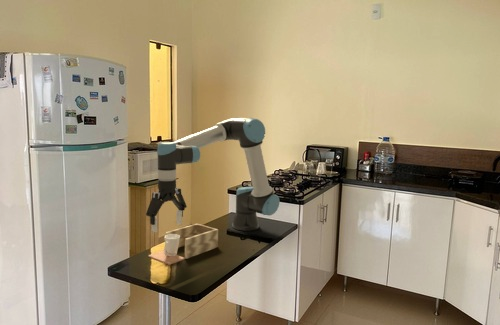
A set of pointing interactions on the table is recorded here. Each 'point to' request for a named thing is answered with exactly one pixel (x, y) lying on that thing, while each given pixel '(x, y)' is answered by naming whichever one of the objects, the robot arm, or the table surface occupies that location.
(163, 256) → the tailgate
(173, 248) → the cup
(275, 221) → the table surface
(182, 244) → the box
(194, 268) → the table surface
